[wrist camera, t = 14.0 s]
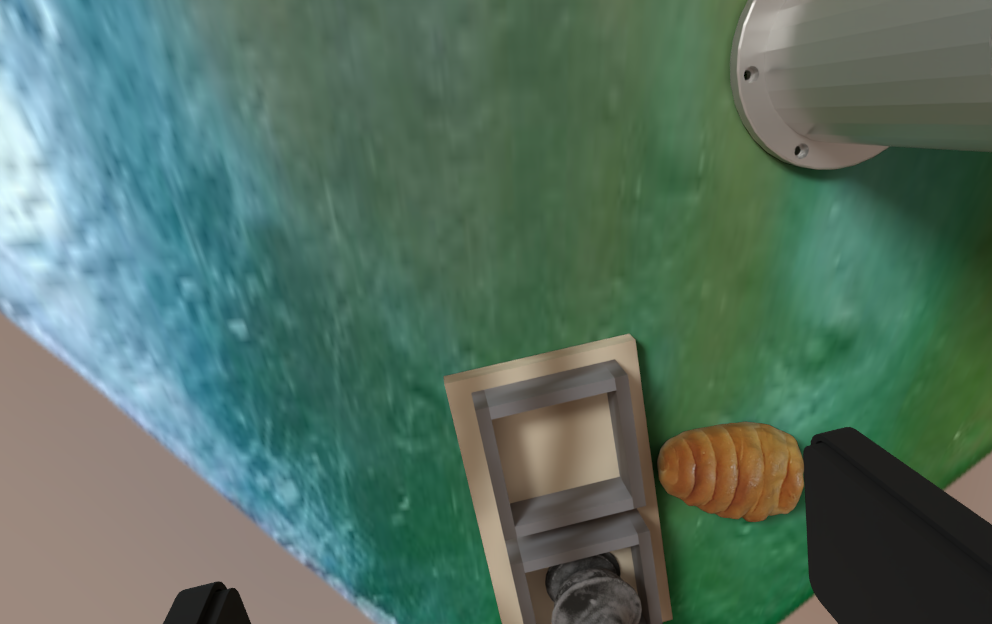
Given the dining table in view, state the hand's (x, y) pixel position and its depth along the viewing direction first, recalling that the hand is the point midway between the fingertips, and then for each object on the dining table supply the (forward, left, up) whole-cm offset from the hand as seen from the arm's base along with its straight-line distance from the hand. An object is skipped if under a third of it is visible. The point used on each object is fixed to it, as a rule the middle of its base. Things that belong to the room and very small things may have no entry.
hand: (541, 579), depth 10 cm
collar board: (-4, +19, -28) cm, 34 cm away
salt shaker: (-4, +24, -27) cm, 37 cm away
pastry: (-16, +19, -29) cm, 38 cm away
